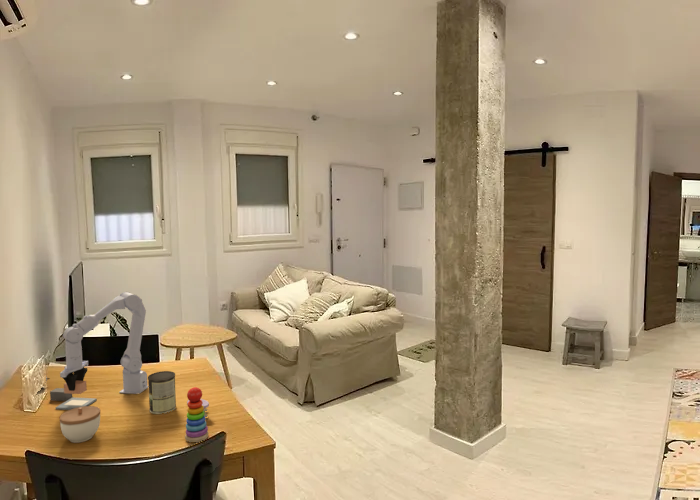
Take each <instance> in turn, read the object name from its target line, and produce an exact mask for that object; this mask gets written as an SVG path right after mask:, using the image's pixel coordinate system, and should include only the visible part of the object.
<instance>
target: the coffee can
mask: <svg viewBox="0 0 700 500" xmlns="http://www.w3.org/2000/svg"><path fill="white" fill-rule="evenodd" d="M147 385H148V401H149V403H148V404H149V410H148V411H149V413H150V414H153V415H163V414H162V413H164V414H168V413H170V411H171V412H173V411H174V410H176V408H177V401H176V396H177V395H176V373H175V372H174V371H171V370H162V371H156V372H154V373H151V374H149V375H147ZM175 407H176V408H175ZM172 410H173V411H172ZM167 412H168V413H167Z"/></svg>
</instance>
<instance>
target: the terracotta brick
mask: <svg viewBox="0 0 700 500" xmlns="http://www.w3.org/2000/svg"><path fill="white" fill-rule="evenodd" d="M87 387H88V386H87V380H83V381H76V382H75V390H74V391H69V389H68V386H67V383H66V382H65V383H63V388H64V393H69V394H72V395H81V394H83V393H85V392H87V390H88V389H87Z"/></svg>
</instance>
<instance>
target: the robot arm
mask: <svg viewBox="0 0 700 500" xmlns="http://www.w3.org/2000/svg"><path fill="white" fill-rule="evenodd" d="M125 309H127V310H128V311H129V312H130V313H131V314H132V316H131V324H130V330H129V333H128V334H129V335H128V340H127V345H126V349H125V351H124V352H123V355H122V357H121V359H120V365H121V367H122V368H123V370H122V386H123V387H122V388H123V389H121V390H120V391H118V393H120V394H135V395H136V394H137V395H138V394H141V393H142V392H144V391H145V390H147V389H149V385H148V373H147V371H145V370H142V367H143V361H142V354H141V351H140V350H141V344H142V339H143V332H144V331H143V330H144V326H145V321H146V320H145V319H146V313H147V312H146V311H147V310H146V308H145V305H144V304H143V299H142V298H140V296H138V295H137V294H134V293H131V292H129V291H123V292H121V293H120V294H119V295H116V296H115V297H114V298H113V299H112V300H110V301H109V302H108V303H107V304H106V305H104V306H103V307H102V308H101V309H99V310H98V311H97V312H95V313H94V314H88V315H86V314H85V315H84V316H82V319H81V320H79V321H78V322H76V323H73V324H72V326H69V327H67V328H65V330H64V332H63V334H62V337H63V338H64V339H65V342H64V343H65V362H66V363H65V366H64V369H63V370H61V372H59V377H60V378H62V379H63V380H64V382H65V383H67V386H68V389H69V391H74V390H75V382H76V381H85V380H84V379H85V377H86V374H87V372H88V366H89V360H83V350H82V349H83V348H82V340H83V338H84V336H85V335H86V334H88V333H89V332H91V331H92V330H93V329H95V328H96V327H97V326H99V325H100V324H99V322H100V321H101V320H103V319H104V318H105V317H107V316H108V315H110V314H112V313H113V312H115V311H116V310H125Z"/></svg>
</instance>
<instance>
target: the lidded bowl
mask: <svg viewBox="0 0 700 500" xmlns="http://www.w3.org/2000/svg"><path fill="white" fill-rule="evenodd" d="M59 423H60V424H59V425H60V429H61V433H62V436H63V437H65V439H67V440H68V441H70V443H73V444H78V443H84V442H86V441H89V440H91V439H92V438H93V437H94V435H95V434H96V432H97V431H98V429H99V427H100V423H101V409H100V407H98V406H95V405H92V406H91V405H89V406H83V407H78V408H74V409H71V410H65V411H64V412H63V413H62V414H60V416H59Z"/></svg>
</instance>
